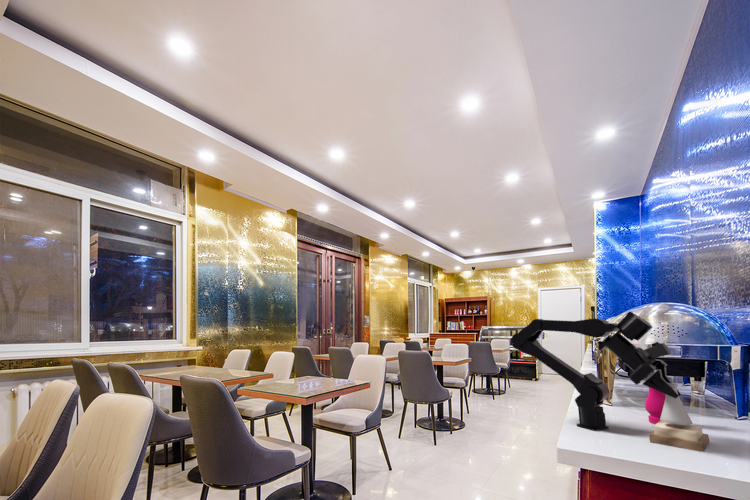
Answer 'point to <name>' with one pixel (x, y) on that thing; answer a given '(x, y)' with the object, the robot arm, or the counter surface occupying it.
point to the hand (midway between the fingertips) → (678, 396)
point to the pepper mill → (654, 405)
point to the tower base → (680, 442)
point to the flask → (674, 410)
